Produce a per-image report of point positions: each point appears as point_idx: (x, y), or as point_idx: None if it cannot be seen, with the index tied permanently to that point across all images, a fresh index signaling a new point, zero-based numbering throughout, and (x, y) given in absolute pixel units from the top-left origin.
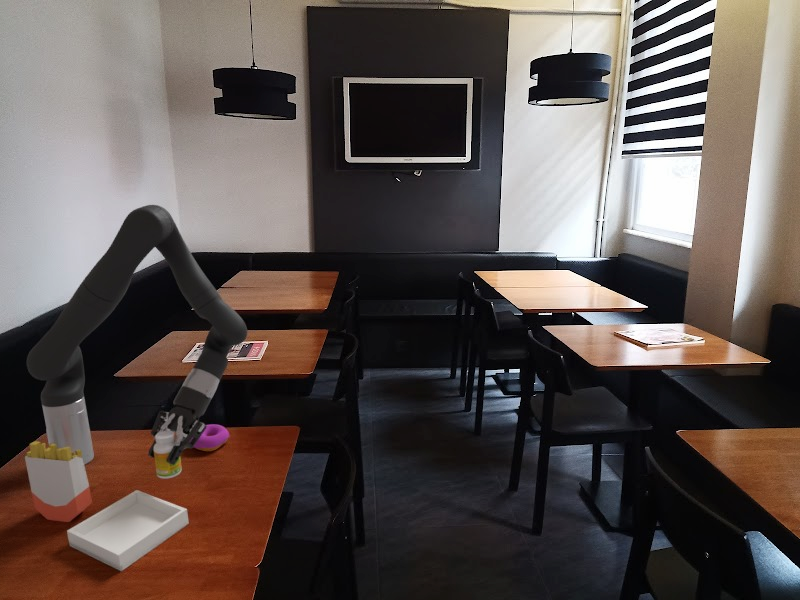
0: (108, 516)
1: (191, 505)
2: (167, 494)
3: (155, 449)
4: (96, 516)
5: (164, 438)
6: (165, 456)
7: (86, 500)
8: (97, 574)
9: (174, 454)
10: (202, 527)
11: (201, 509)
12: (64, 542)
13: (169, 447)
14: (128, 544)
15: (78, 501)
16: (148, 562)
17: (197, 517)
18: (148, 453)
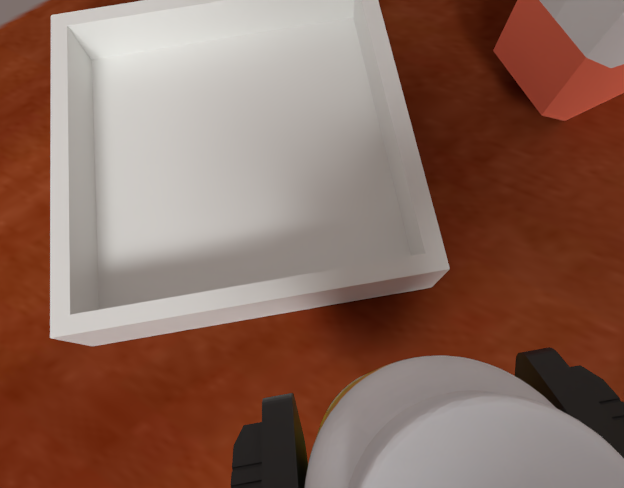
0: (383, 126)
1: (204, 442)
2: None
3: (439, 358)
4: (375, 62)
5: (365, 469)
6: (330, 411)
7: (537, 74)
8: None
9: (248, 480)
10: (15, 369)
11: (131, 453)
12: (399, 15)
13: (320, 483)
14: (160, 113)
15: (519, 21)
16: (41, 131)
17: (95, 400)
18: (552, 351)
